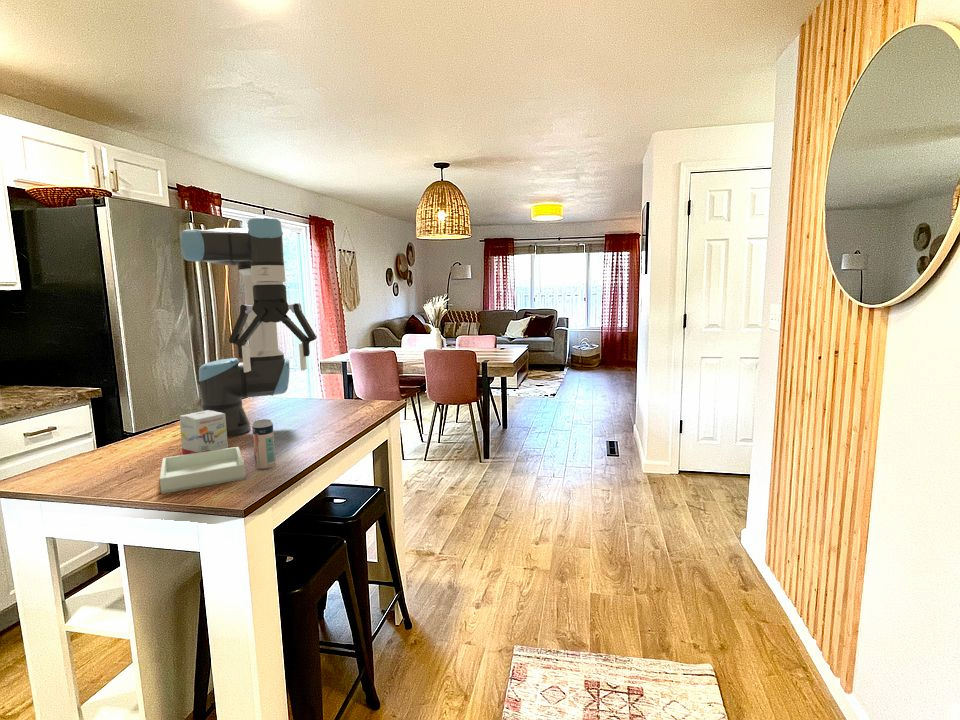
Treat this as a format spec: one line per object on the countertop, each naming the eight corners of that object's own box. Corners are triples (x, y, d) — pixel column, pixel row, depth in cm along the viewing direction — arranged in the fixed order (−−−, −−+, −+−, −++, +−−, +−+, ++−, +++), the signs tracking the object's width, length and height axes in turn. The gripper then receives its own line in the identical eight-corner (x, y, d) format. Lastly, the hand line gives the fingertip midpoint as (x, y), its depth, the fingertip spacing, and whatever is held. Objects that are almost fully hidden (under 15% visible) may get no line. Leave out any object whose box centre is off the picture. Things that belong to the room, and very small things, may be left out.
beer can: (259, 464, 136) (255, 419, 134) (278, 463, 136) (274, 418, 135) (253, 470, 131) (249, 424, 130) (272, 469, 132) (269, 423, 130)
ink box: (199, 462, 139) (195, 418, 137) (182, 457, 144) (177, 415, 142) (229, 453, 146) (226, 411, 145) (212, 448, 151) (208, 408, 149)
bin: (164, 471, 132) (162, 457, 132) (239, 459, 141) (238, 446, 140) (161, 493, 117) (159, 478, 117) (245, 478, 125) (244, 464, 125)
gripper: (209, 284, 122) (217, 374, 125) (318, 282, 124) (323, 371, 127) (222, 285, 130) (229, 369, 132) (324, 283, 131) (330, 366, 134)
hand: (275, 370), depth 130 cm, fingers open, 13 cm apart
